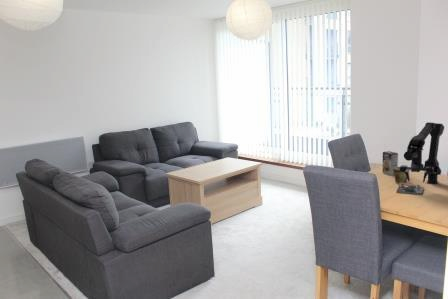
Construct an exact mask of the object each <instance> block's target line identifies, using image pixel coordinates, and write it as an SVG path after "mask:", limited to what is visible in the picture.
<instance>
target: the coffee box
mask: <svg viewBox="0 0 448 299" xmlns="http://www.w3.org/2000/svg"><path fill="white" fill-rule="evenodd" d="M398 159H399V153H398V152H394V151H389V150H387V151H382V174H385V175H388V176H394V171H393V168H394V167H399V166H398V164H399V160H398Z"/></svg>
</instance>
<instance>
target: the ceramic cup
mask: <svg viewBox="0 0 448 299" xmlns="http://www.w3.org/2000/svg"><path fill="white" fill-rule="evenodd" d="M393 171H394V175H393V176H394V182H395V183H396V184H399V185H400V183H404V178H407V176H406V174H405V173H403V171H400V166H398V167H394V168H393Z"/></svg>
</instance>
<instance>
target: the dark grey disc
mask: <svg viewBox="0 0 448 299" xmlns="http://www.w3.org/2000/svg"><path fill="white" fill-rule="evenodd" d="M407 181H408V179H407V178H404V183H403V186H404V188H407V189H415V188H416V187H417V185H415V184H412V183H410V182H407Z"/></svg>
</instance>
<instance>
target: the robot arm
mask: <svg viewBox="0 0 448 299" xmlns="http://www.w3.org/2000/svg"><path fill="white" fill-rule="evenodd" d="M444 130H445V126H444V124H443V123H437V122H425V124H424V127H423V128H422V129H421V130H420V132H419V133H418V134H417V135H414V136H413V137H411V139H410V141H409V142H408V145H407V148H406V151H405V152H404V154H403V158H404V159H405V160H406V161H409V162H410V161H411V164H410V166H408V165H405V164H403V165H400V166H399V167H400V171H403V173H405V174H406V176H407V181H408V182H407V183H410V179H411V178H410V172H412V173H420V172H421V171H422V172H424V173H423V174H424V175H423V179H422V183H423V184H424V183H425V181H426V179H427V181H426V184H432V185H433V184H434V185H438V184H439V180H438V177H439V175H440V176H441V175H442V170H441V168H440V162H439V161H438V152H439V144H440V137H442V135H443V133H444ZM429 135H430V145H429V151H428V158H427V159H426V160H425V161H424V164H423V163H422V162H423V160H422V158H423V151H424V148H423V147H424V146H425V143H426V139H427V138H428V136H429Z"/></svg>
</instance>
